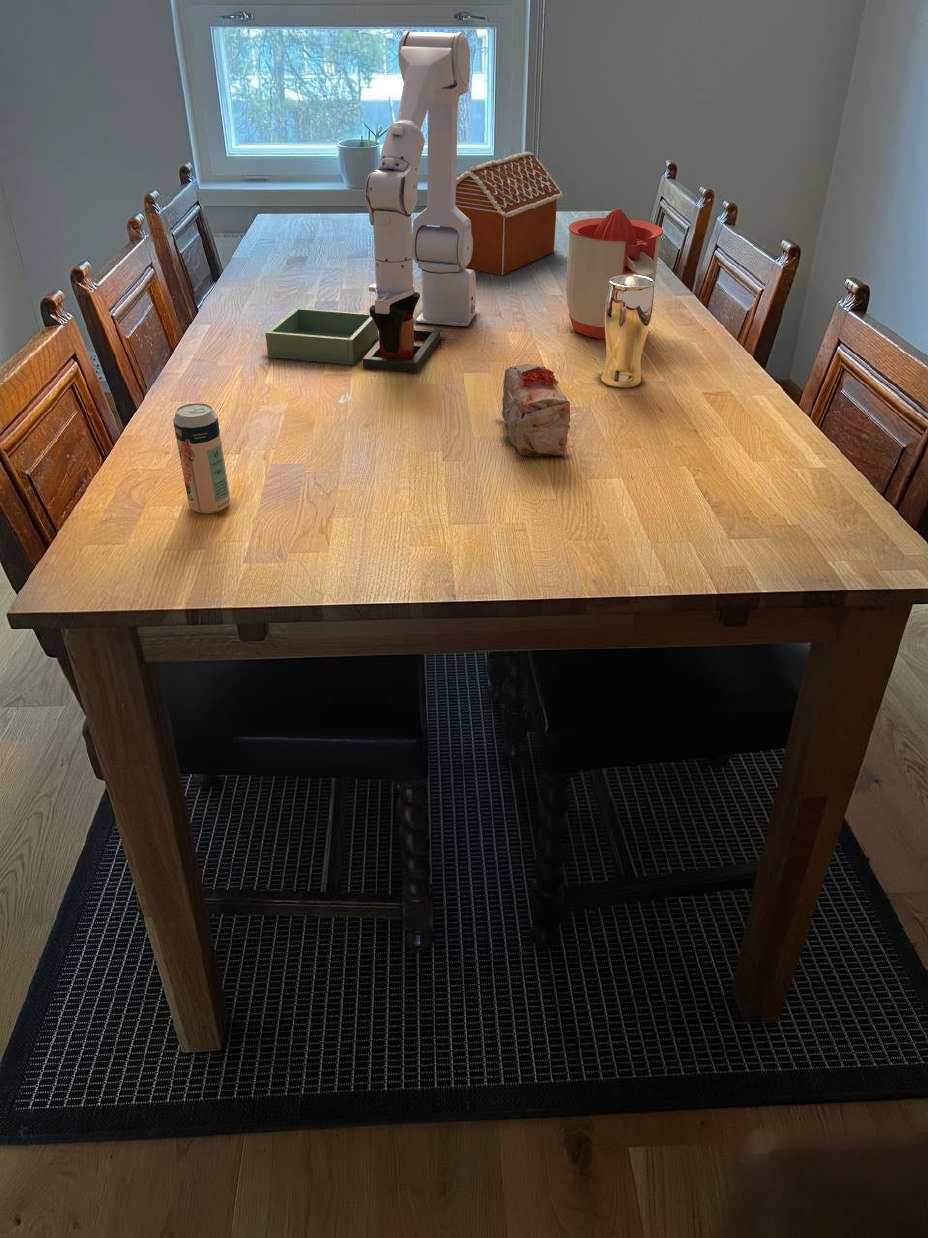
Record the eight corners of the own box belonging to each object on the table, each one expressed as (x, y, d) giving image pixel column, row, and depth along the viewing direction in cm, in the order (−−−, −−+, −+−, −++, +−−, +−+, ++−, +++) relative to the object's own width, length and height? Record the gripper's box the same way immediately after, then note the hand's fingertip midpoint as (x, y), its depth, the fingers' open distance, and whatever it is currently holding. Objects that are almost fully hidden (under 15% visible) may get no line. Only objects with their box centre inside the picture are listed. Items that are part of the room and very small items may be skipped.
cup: (418, 356, 149) (417, 313, 145) (409, 367, 145) (407, 323, 141) (385, 353, 150) (383, 310, 146) (375, 365, 146) (373, 321, 142)
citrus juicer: (599, 353, 151) (612, 224, 140) (544, 323, 164) (551, 202, 152) (674, 339, 157) (693, 215, 145) (616, 311, 170) (628, 194, 158)
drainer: (441, 338, 157) (441, 329, 156) (416, 372, 143) (416, 363, 143) (391, 334, 158) (391, 325, 157) (362, 367, 145) (362, 358, 144)
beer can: (193, 497, 109) (175, 401, 102) (233, 496, 110) (218, 400, 103) (186, 516, 105) (167, 419, 98) (228, 515, 106) (212, 418, 99)
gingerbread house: (562, 251, 205) (569, 152, 193) (504, 277, 187) (508, 170, 176) (492, 239, 213) (494, 144, 201) (430, 264, 195) (428, 160, 184)
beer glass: (647, 375, 143) (659, 276, 134) (639, 391, 138) (651, 289, 129) (603, 369, 145) (613, 272, 136) (593, 385, 140) (603, 284, 131)
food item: (574, 460, 118) (580, 387, 113) (514, 464, 117) (517, 391, 111) (547, 418, 129) (552, 349, 124) (492, 422, 128) (494, 352, 122)
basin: (378, 337, 157) (377, 313, 154) (353, 364, 146) (352, 339, 144) (298, 330, 159) (295, 307, 157) (268, 357, 148) (265, 332, 146)
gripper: (381, 244, 145) (385, 329, 153) (353, 268, 133) (358, 359, 141) (425, 246, 144) (426, 332, 152) (400, 271, 132) (402, 362, 140)
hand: (396, 345), depth 146 cm, fingers closed on cup, 5 cm apart
